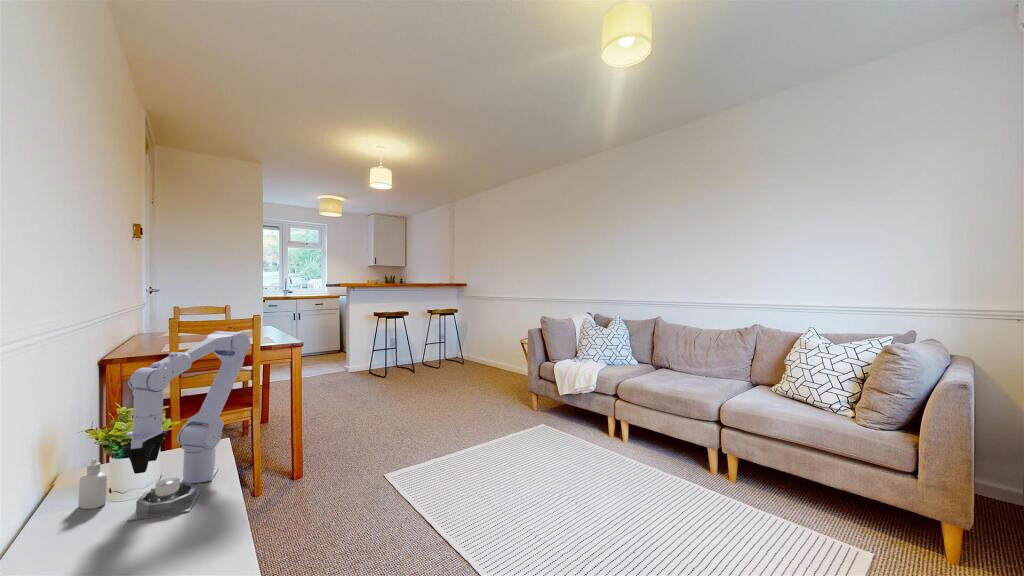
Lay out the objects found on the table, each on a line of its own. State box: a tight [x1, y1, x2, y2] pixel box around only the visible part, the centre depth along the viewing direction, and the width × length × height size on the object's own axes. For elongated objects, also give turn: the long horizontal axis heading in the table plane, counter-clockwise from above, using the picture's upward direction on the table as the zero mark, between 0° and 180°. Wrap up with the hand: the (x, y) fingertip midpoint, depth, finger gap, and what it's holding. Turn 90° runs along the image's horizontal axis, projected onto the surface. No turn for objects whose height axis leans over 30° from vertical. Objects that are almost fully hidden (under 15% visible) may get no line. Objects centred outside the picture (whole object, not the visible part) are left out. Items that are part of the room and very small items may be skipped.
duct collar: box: [126, 482, 203, 523], centre depth 105 cm, size 12×12×3 cm
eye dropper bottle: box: [77, 457, 108, 510], centre depth 104 cm, size 4×6×12 cm
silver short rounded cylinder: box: [150, 477, 181, 503], centre depth 105 cm, size 6×5×6 cm
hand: (145, 466), depth 105 cm, fingers open, 7 cm apart
